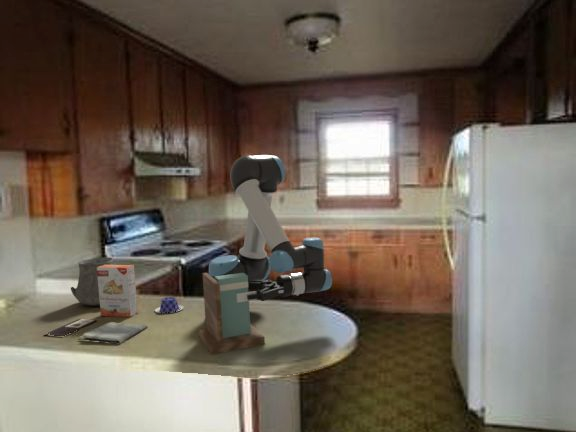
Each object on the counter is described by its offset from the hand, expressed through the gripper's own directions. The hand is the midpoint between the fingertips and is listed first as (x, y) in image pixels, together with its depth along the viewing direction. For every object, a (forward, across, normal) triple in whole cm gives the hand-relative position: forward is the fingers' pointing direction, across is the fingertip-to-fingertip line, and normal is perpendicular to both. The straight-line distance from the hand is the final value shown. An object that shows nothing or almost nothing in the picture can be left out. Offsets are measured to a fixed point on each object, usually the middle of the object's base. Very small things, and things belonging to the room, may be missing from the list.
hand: (231, 293), depth 158 cm
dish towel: (+38, +29, -17) cm, 50 cm away
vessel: (+42, +76, -17) cm, 88 cm away
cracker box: (+35, +52, -17) cm, 65 cm away
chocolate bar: (+52, +44, -17) cm, 70 cm away
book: (0, 0, -14) cm, 14 cm away
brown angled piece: (+1, +1, -17) cm, 17 cm away
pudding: (+15, +49, -17) cm, 54 cm away
